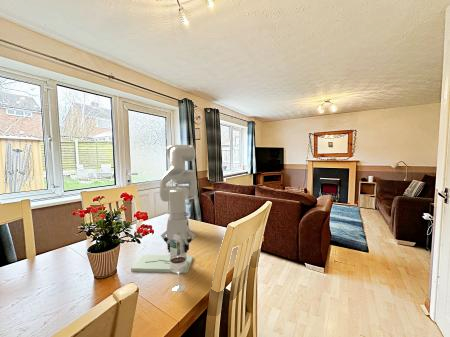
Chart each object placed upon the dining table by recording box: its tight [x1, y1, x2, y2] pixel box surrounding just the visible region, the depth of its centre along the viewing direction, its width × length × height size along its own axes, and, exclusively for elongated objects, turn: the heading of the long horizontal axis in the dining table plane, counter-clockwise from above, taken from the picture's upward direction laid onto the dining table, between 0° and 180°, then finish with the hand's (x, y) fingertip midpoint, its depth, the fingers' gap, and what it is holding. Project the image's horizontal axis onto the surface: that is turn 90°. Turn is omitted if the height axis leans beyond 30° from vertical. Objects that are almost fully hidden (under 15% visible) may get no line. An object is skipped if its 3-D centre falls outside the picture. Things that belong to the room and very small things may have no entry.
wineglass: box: [170, 255, 187, 293], centre depth 77 cm, size 7×7×12 cm
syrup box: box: [169, 234, 187, 258], centre depth 93 cm, size 6×6×14 cm
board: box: [130, 254, 194, 274], centre depth 94 cm, size 12×26×2 cm, turn 87°
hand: (178, 251), depth 93 cm, fingers closed on syrup box, 7 cm apart
